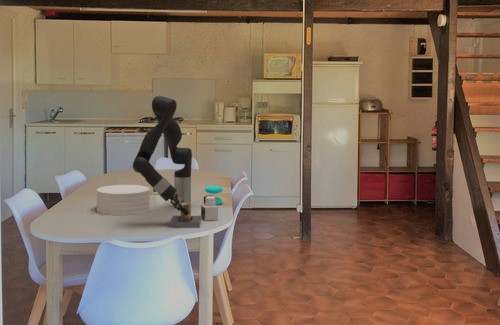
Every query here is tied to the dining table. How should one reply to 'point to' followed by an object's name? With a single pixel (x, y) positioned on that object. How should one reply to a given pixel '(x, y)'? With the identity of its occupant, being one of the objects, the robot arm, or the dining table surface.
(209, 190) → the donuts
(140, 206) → the plate stack
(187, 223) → the socket plate
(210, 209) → the medicine bottle
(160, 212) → the dining table surface
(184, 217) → the square peg
